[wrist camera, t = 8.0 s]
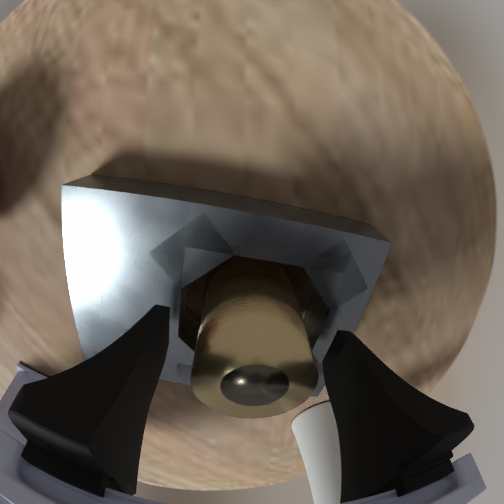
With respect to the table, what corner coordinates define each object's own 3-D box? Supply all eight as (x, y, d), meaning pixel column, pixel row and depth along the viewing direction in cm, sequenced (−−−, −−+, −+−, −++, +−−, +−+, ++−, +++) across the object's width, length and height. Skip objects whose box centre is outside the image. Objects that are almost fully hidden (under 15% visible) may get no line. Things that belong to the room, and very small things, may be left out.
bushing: (202, 321, 15) (186, 411, 9) (213, 249, 13) (195, 331, 8) (280, 333, 15) (295, 421, 10) (303, 265, 14) (339, 348, 8)
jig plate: (99, 333, 15) (84, 358, 13) (89, 175, 11) (61, 185, 9) (310, 367, 17) (317, 396, 14) (368, 224, 13) (392, 242, 10)
